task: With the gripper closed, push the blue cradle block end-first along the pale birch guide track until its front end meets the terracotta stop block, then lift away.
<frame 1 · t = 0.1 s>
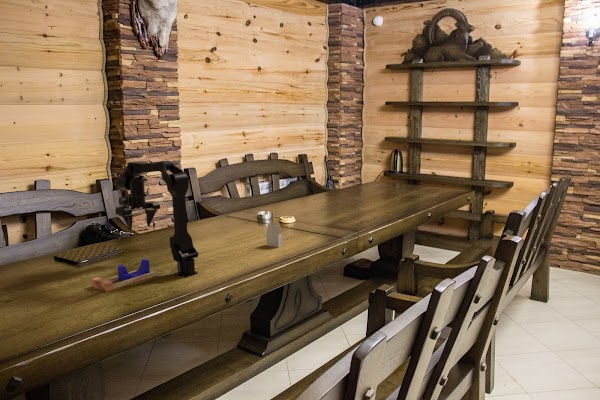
hand: (139, 228, 230), 15 cm above the table, fingers open, 9 cm apart
blue cradle block: (135, 278, 211), resting in guide track
grey upright block: (274, 246, 258), on the table
guide track: (125, 281, 208), on the table
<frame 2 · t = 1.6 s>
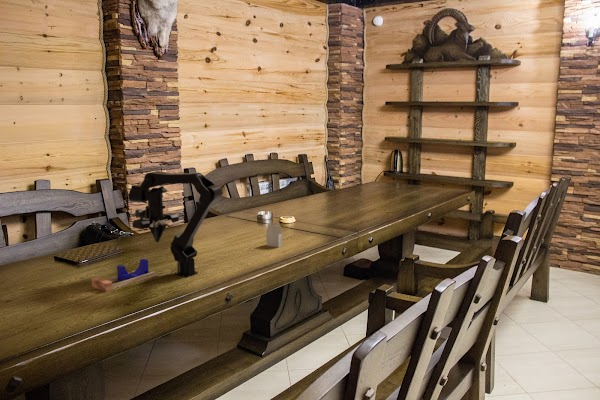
hand: (157, 241, 218), 12 cm above the table, fingers closed
nothing on the table moved.
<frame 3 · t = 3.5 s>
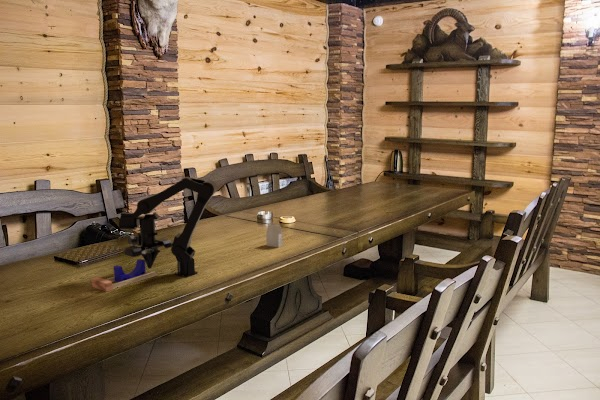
hand: (149, 268, 216), 2 cm above the table, fingers closed
blue cradle block: (131, 279, 211), resting in guide track, touching gripper
everything else where it was.
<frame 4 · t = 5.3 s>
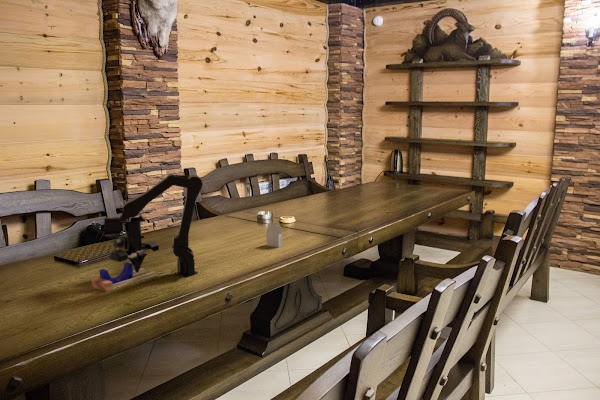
hand: (137, 272, 212), 2 cm above the table, fingers closed
blue cradle block: (118, 283, 206), resting in guide track, touching gripper
everything else where it was.
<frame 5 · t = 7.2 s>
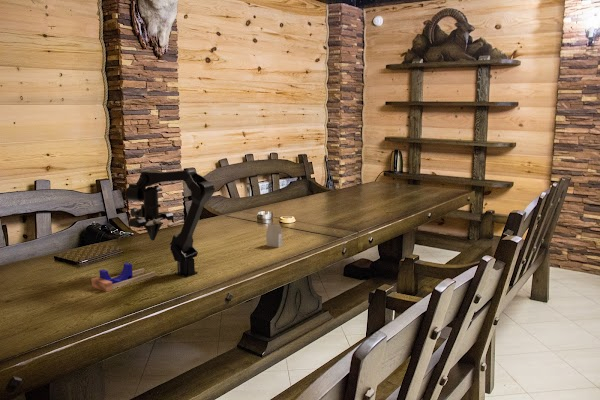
hand: (152, 240, 220), 12 cm above the table, fingers closed
blue cradle block: (118, 283, 206), resting in guide track
everything else where it was.
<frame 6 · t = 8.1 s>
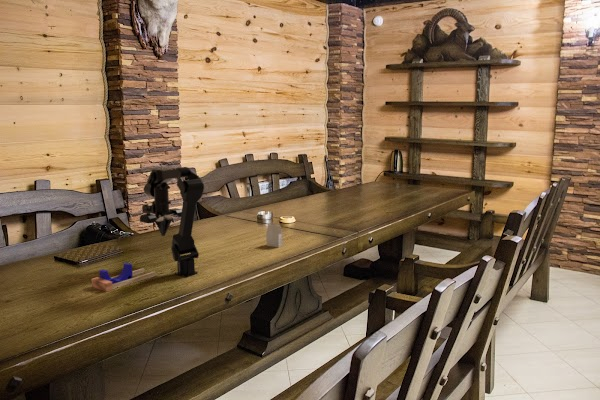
hand: (163, 235, 228), 12 cm above the table, fingers closed
nothing on the table moved.
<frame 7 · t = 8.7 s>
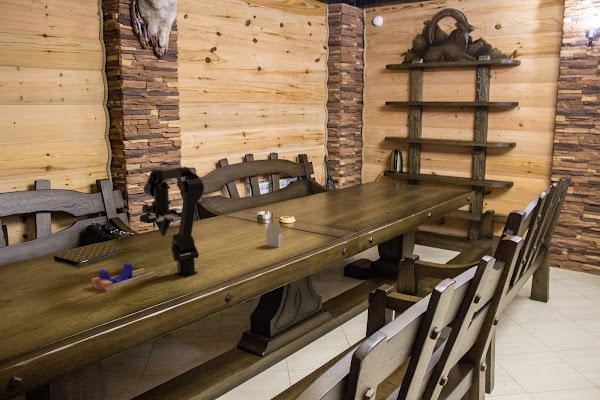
hand: (163, 235, 228), 12 cm above the table, fingers closed
nothing on the table moved.
at the end: blue cradle block 0.7 cm from the target spot, resting in guide track; blue cradle block tilted 0°; the gripper is holding nothing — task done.
